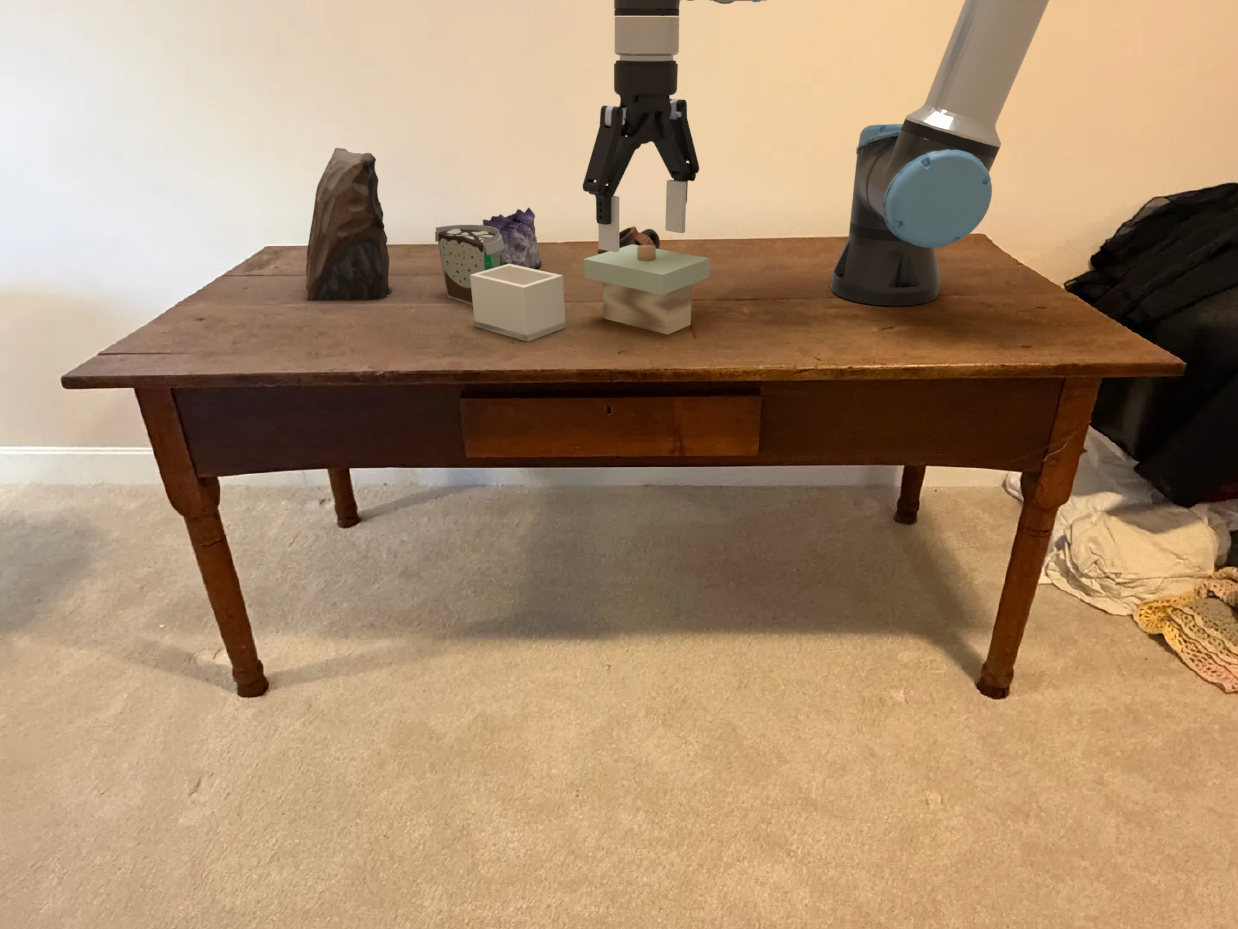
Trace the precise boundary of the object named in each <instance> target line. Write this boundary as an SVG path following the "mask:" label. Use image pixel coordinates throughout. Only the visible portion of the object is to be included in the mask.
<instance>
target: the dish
mask: <svg viewBox="0 0 1238 929" xmlns="http://www.w3.org/2000/svg"><path fill="white" fill-rule="evenodd" d="M470 280H471V290H472V301H473V305H472V308H473V309H472V311H473V318H474V320H473V321H474V327H476V328H479V329H483V330H485V331H488V332H492V333H496V334H500V335H503V336H506V337H509V338H513V339H517V340H521V341H525V342H527V343H528V342H531V341H533V340H536V339H539V338H541V337H544V336H546V335H549V334H550V335H551V334H552V333H555V332H557V331H560V330H563V329H565V328H566V315H565V314H566V312H565V295H564V294H565V292H564V291H565V288H564V275H562V274H559V273H553V272H549V271H544V270H539V269H536V268H535V269H531V268H527V267H522V266H517V265H513V264H506V265H503V266H499V267H496V268H492V269H489V270H485V271H482V272H478V273H474V274H471V275H470Z"/></svg>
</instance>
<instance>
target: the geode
mask: <svg viewBox="0 0 1238 929" xmlns="http://www.w3.org/2000/svg"><path fill="white" fill-rule="evenodd" d="M535 218H536V214H535V213H534V211H533V210H532V209H531V208H530V207H527V209H526V210H525V211H523V210H522V209H519V208H518V209H517V210H516V211H515V212H514V213H512V214H509V215H507V216H504V215H503V214H501V213H500V214H498V216H497V215H496V216H495V215H492V216H491V217H490V219H482V225H483V226H490V227H494V228H496V229H498V230H499V234H501V236H502V239H503V243H504V248H503V249H502V250H500V266H503V265H506V264H513V265H517V266H522V267H527V268H531V269H536V268H540V267H541V266H542V259H541V256H540V250H539V247H538V242H537V236H536V227H535Z"/></svg>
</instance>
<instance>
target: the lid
mask: <svg viewBox="0 0 1238 929" xmlns="http://www.w3.org/2000/svg"><path fill="white" fill-rule="evenodd" d="M710 262H711V258H710V257H703V256H698V255H693V254H688V253H682V252H678V251H677V252H676V251H672V250H666V249H660V248H659V249H656V246H653V245H640V246H638V245H633V244H632V245H628V246H625V247H622V248H619V251H618V252H611V251H609V252H605V253H602V254H596V255H591V256H589V257H586V258H583V275H584V276H583V277H584V279H587V280H591V281H592V280H593V281H595V282H597V281H598V282H601V283H603V282H605V283H610V284H615V285H619V286H624V287H628V288H633V289H637V290H642V291H647V292H651V293H656V294H660V295H664V294H667V293H669V292H672V291H674V290H677V289H680V288H682V287H685V286H688V285H690V284H692V285H694V284H695V283H697V282H701V281H704V280H706V279H708V278H710V266H711V265H710V264H711V263H710Z"/></svg>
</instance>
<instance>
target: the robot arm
mask: <svg viewBox="0 0 1238 929" xmlns="http://www.w3.org/2000/svg"><path fill="white" fill-rule="evenodd" d="M686 1H688V2H691V1H693V2H694V0H686ZM710 1H713V2H715V3H718V4H721V5H728V4H733V3H734V2H753V3H760V2H761V1H763V2H764V1H766V0H710ZM963 2H964V3H963V5H962V7H961V10H960V13H959V15H958V17H957V20H956V23H955V26H954V28H953V30H952V32H951V33H952V34H951V36H950V37H949V40H948V43H947V46H946V48H945V51H944V52H943V53H944V54H943V56H942V58H941V61H940V64H939V67H938V69H937V71H936V74H935V76H934V79H933V81H932V83H931V86H930V89H929V92H928V94H927V97H926V100H925V102H924V104H923V105H922V106H921V107H919V108H918V109H915V111H912V112H911V113H909V114H907V115H906V116H905V118H904V121H903V123H896V124H895V123H892V124H871V125H868V126H865V127H864V128H863V129H862V130H861V131H860V135H859V140H858V145H857V147H856V148H855V149H856V162H855V169H854V170H855V172H854V173H855V174H854V181H853V190H852V191H853V192H852V200H851V201H852V202H851V209H850V210H851V211H850V219H849V220H850V221H849V229H848V230H849V231H848V237H847V240H846V242H845V243H844V247H843V249H842V251H841V254H840V256H839V257H838V259H837V262H836V264H835V267H834V269H833V272H832V277H831V284H830V290H831V291H832V292H833V293H834V294H835V295H836V296H838V297H841V298H843V299H846V300H849V301H852V302H856V303H862V304H867V305H877V306H890V307H891V306H892V307H893V306H895V307H896V306H898V307H900V306H901V307H902V306H914V305H920V304H924V303H929V302H932V301H933V300H935V299H937V297H938V296H939V292H940V291H939V290H940V284H941V277H940V272H939V266H938V261H937V254H936V249H935V248H941V247H942V248H943V247H947V246H949V245H952V244H955V243H957V242H958V241H961V240H962V239H965V237H967V236H969V235H970V234H971V233H972V232H973V231H975V229H976V228H977V227H978V226H979V225H980V224H981V222H982V221H983V219H984V218H985V216H986V214H987V213H988V211H989V209H990V205H991V202H992V196H993V184H992V178H991V176H990V171H991V169H992V167H993V164H994V162H995V160H996V157H997V155H998V153H999V151H1000V148H1001V145H1002V142H1001V140H1000V139H1001V138H999V135H998V132H997V128H996V124H997V122H998V120H999V118H1000V115H1001V112H1002V110H1003V108H1004V106H1005V103H1006V101H1007V99H1008V97H1009V94H1010V91H1011V90H1012V87H1013V85H1014V82H1015V80H1016V78H1017V77H1018V73H1019V71H1020V69H1021V66H1022V64H1023V62H1024V59H1025V58H1026V55H1027V53H1028V51H1029V48H1030V46H1031V43H1032V41H1033V38H1034V37H1035V34H1036V31H1037V29H1038V28H1039V25H1040V23H1041V20H1042V18H1043V15H1044V13H1045V12H1046V8H1047V6H1048V4H1049V2H1050V0H964V1H963ZM680 3H681V0H613V6H614V7H613V8H614V12H613V13H614V14H613V15H614V54H615V55H616V56H619V59H617V60H615V62H614V64H613V89H614V91H613V92H615V94H617V95H618V96H619V98H620V99H619V100H620V102H619V106H615V105H614V106H613V105H602V106H601V108H600V114H599V116H600V117H599V127H598V131H597V134H596V138H595V141H594V145H593V147H592V152H591V156H590V159H589V163H588V166H587V169H586V172H585V176H584V180H583V183H582V190H583V191H584V192H586V193H588V194H589V195H592V196H595V210H596V212H595V218H596V219H595V220H596V223H597V225H598V249H601V250H606V251H611V252H618V251H619V232H620V196H616V195H615V194H616V192H617V189H618V187H619V186H620V184H621V181H622V179H623V176H624V175H625V173H626V171H627V168H628V166H629V164H630V163H631V160H632V158H633V156H634V154H635V151H636V150H637V149H639V148H641V146H642V145H647V144H648V143H653V144H654V147H655V148H656V150H657V152H658V154H659V156H660V157H661V160H662V162H663V164H664V166H665V167H666V169H667V172H668V173H669V175H670V177H671V179H667V180H666V193H665V196H666V197H665V202H666V203H665V227H664V228H665V231H667V232H672V233H676V234H685V232H686V217H687V216H686V214H687V213H686V210H687V203H688V189H689V188H688V185H689V184H688V182H694V181H695V179H696V178H697V177H696V176H697V174H698V173H699V172H700V164H699V160H698V157H697V152H696V148H695V144H694V139H693V136H692V132H691V129H690V128H691V127H690V124H689V120H688V106H687V105H688V104H687V100H686V99H682V98H681V99H679V98H671V97H670V96H673V95H675V94H676V93H677V91H678V71H679V68H678V66H679V64H678V63H677V61H676V60H674V56H676V55H678V54H679V50H680V47H679V46H680Z"/></svg>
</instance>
